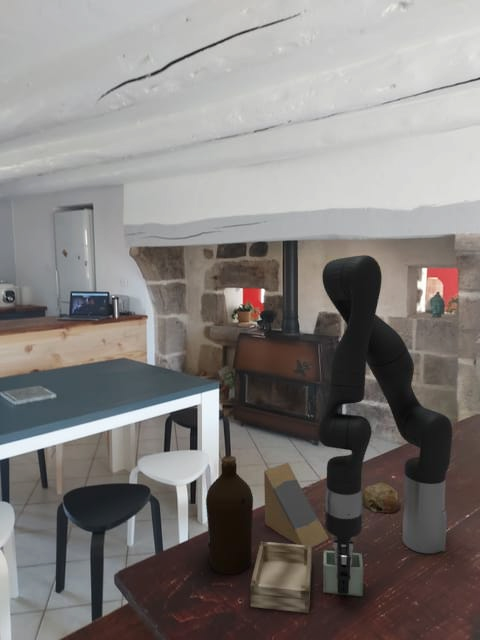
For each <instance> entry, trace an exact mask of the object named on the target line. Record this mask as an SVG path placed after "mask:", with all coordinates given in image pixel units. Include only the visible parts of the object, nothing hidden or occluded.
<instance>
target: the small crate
mask: <svg viewBox="0 0 480 640" xmlns="http://www.w3.org/2000/svg"><path fill="white" fill-rule="evenodd" d="M337 556H338V552H337ZM322 564H323V571H322V572H323V573H322V574H323V577H322V578H323V579H322V580H323V582H322V583H323V586H322V587H323V588H322V589H323V590H322V592H323V593H324V594H325V593H326V594H335V595H344V596H345V595H346V596H354V597H355V596H356V597H363V595H364V566H363V565H364V563H363V554H362V553H359V552H352V565H351V566H350V581H349V592H348V594H342V593H338V579H337V565H336V564H335V550H323V563H322Z"/></svg>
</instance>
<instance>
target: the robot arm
mask: <svg viewBox="0 0 480 640" xmlns="http://www.w3.org/2000/svg"><path fill="white" fill-rule="evenodd" d="M382 277H383V276H382V270H381V266H380V265H379V262H378V261H377V260H376V258H374V257H373V256H371V255H367V254H365V255H364V254H362V255H354V256H348V257H343V258H342V257H341V258H336V259H332V260H331V261H328V262H327V263H326V264H325V266H324V268H323V271H322V285H323V287H324V290H325V293H326V295H327V297H328V298H329V300H330V301H331V304H332V305H333V306H334V308H335V309H336V310H337V312H338V313H339V315H340V316H341V318H342V320H343V321H344V323H345V324H346V327H345V330H344V332H343V334H342V336H341V338H340V340H339V342H338V343H337V346H336V347H335V350H334V352H333V355H332V359H331V363H330V364H331V365H330V379H329V389H328V395H327V400H326V404H325V407H324V410H323V413H322V416H321V417H320V421H319V424H318V426H317V428H318V429H317V435H318V436H317V437H318V439H319V442H320V443H321V444H322V445H323V446H324V447H327V448H332V449H333V448H334V449H339V450H345V451H351V453H350V454H346V455H337V456H333V457H331V458H329V459H328V461H327V464H326V489H325V497H324V499H325V500H324V503H325V504H324V505H325V507H324V510H325V511H324V514H325V516H324V519H325V520H324V527H325V529H326V531H327V532H328V533H329V534H331V535H333V549H334V551H335V564H336V565H337V579H338V593H342V594H341V595H343V594H348V592H349V581H350V566H351V565H352V553H353V550H354V541H353V539H354V538H355V537H357V536H359V535H360V533H361V532H362V530H363V499H362V496H363V492H362V470H363V464H364V461H365V460H364V459H365V455H366V452H367V449H368V446H369V443H370V441H371V437H372V425H371V424H370V422H369V420H368V419H367V418H366V417H364V416H362V415H355V414H346V413H340V412H339V410H340V409H341V407H342V406H344V405H348V404H357V403H361V402H362V401H363V400H364V398H365V391H366V389H365V387H366V374H367V373H366V372H367V370H366V369H367V365H368V367H369V369H370V371H371V373H372V375H373V376H374V378H375V380H376V382H377V384H378V385H379V388H380V390H381V393H382V394H383V396H384V398H385V400H386V401H387V404H388V406H389V408H390V412H391V414H392V418H393V420H394V422H395V426H396V428H397V430H398V433H399V434H400V436H401V437H402V438H403V440H404V441H406V442H407V443H409V444H410V445H413V446H415V447H417V448H419V456H416V457H411V458H409V459H407V460H406V461H405V462H404V473H403V475H404V476H403V477H404V478H403V479H404V480H403V481H404V482H403V507H402V508H403V509H402V510H403V511H402V514H403V515H402V542H403V544H404V545H405V546H406V547H407V548H409V549H411V550H412V551H414V552H417V553H420V554H426V555H427V554H428V555H429V554H436V553H439V552H440V553H441V552H446V540H447V511H446V509H445V508H446V507H445V506H446V505H445V503H446V498H445V497H446V478H447V471H448V469H449V466H450V461H451V455H452V454H451V451H452V444H453V426H452V422H451V420H450V419H449V417H447V416H446V415H445V414H443V413H440V412H438V411H436V410H431V409H429V408H426V407H424V406H423V405H422V404H421V403H420V401H419V400H418V398H417V396H416V394H415V392H414V389H413V387H412V386H413V385H412V383H413V379H414V372H415V366H414V365H415V364H414V362H413V357H412V355H411V354H410V352H409V349H408V347H407V345H406V343H405V341H404V340H403V338H402V336H401V335H400V334H399V333H398V332H397V331H396V330H395V329H394V328H393V327H391V326H390V325H389V324H388V323H387V322H386V321H384V319H382V318H381V317H379V315H377V307H378V303H379V299H380V294H381V289H382ZM337 552H338V556H337Z"/></svg>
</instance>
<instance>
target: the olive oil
mask: <svg viewBox="0 0 480 640" xmlns="http://www.w3.org/2000/svg"><path fill="white" fill-rule="evenodd" d="M220 466H221V473H220V475H219V476H218V477H217V478H216V479H215V480H214V481H213V482H212V484H211V485H210V486H209V487H208V491H207V494H206V497H205V506H206V507H205V509H206V519H207V530H208V531H207V533H208V548H209V563H210V566H211V568H212V569H213V570H214V571H215V572H217V573H219V574H222V575H228V576H230V575H237V574H238V575H239V574H241V573H243V572H244V571H247V570H248V569H249V567H250V566H251V563H252V538H253V537H252V536H253V535H252V533H253V508H254V496H253V495H254V494H253V492H252V489H251V487H250V486H249V484H248V483H247V481H245V480H244V478H242V477H241V476H240V475H239V474H238V473H237V458H236V457H235V456H233V455H225V456H222V458H221V465H220Z"/></svg>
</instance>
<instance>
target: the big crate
mask: <svg viewBox="0 0 480 640" xmlns="http://www.w3.org/2000/svg"><path fill="white" fill-rule="evenodd" d="M312 555H313V547H312V546H307V545H297V544H295V543H284V542H283V543H281V542H280V543H279V542H271V541H260V543H259V547H258V552H257V556H256V561H255V565H254V568H253V573H252V577H251V581H250V585H249V586H250V587H249V589H250V595H249V597H250V607H252V608H259V609H260V608H261V609H267V610H268V609H269V610H277V611H287V612H288V611H289V612H294V613H295V612H296V613H306V614H309V613H310V601H311V600H310V598H311V581H312V569H313V568H312V565H313V564H312V563H313V562H312V561H313V556H312Z"/></svg>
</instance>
